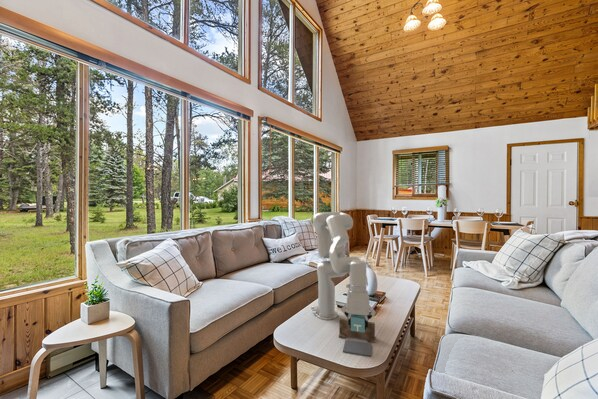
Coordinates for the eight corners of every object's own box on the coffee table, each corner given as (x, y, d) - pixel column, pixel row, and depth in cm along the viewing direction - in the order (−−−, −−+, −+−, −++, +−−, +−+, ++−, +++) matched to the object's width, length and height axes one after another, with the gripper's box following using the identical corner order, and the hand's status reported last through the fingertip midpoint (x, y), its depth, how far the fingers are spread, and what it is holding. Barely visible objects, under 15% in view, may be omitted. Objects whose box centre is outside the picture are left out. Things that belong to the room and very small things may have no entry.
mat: (342, 352, 124) (342, 350, 124) (345, 340, 134) (345, 339, 134) (370, 356, 121) (370, 355, 121) (371, 344, 130) (371, 343, 130)
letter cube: (350, 331, 124) (350, 317, 124) (352, 324, 130) (352, 312, 130) (364, 332, 122) (364, 319, 122) (365, 326, 128) (365, 313, 128)
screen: (338, 337, 137) (338, 321, 136) (340, 331, 142) (340, 316, 142) (374, 342, 132) (374, 326, 132) (374, 336, 138) (375, 320, 137)
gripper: (337, 289, 125) (338, 328, 125) (377, 292, 120) (377, 334, 120) (340, 284, 132) (340, 321, 132) (377, 287, 127) (377, 326, 128)
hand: (358, 327), depth 126 cm, fingers closed on letter cube, 6 cm apart
